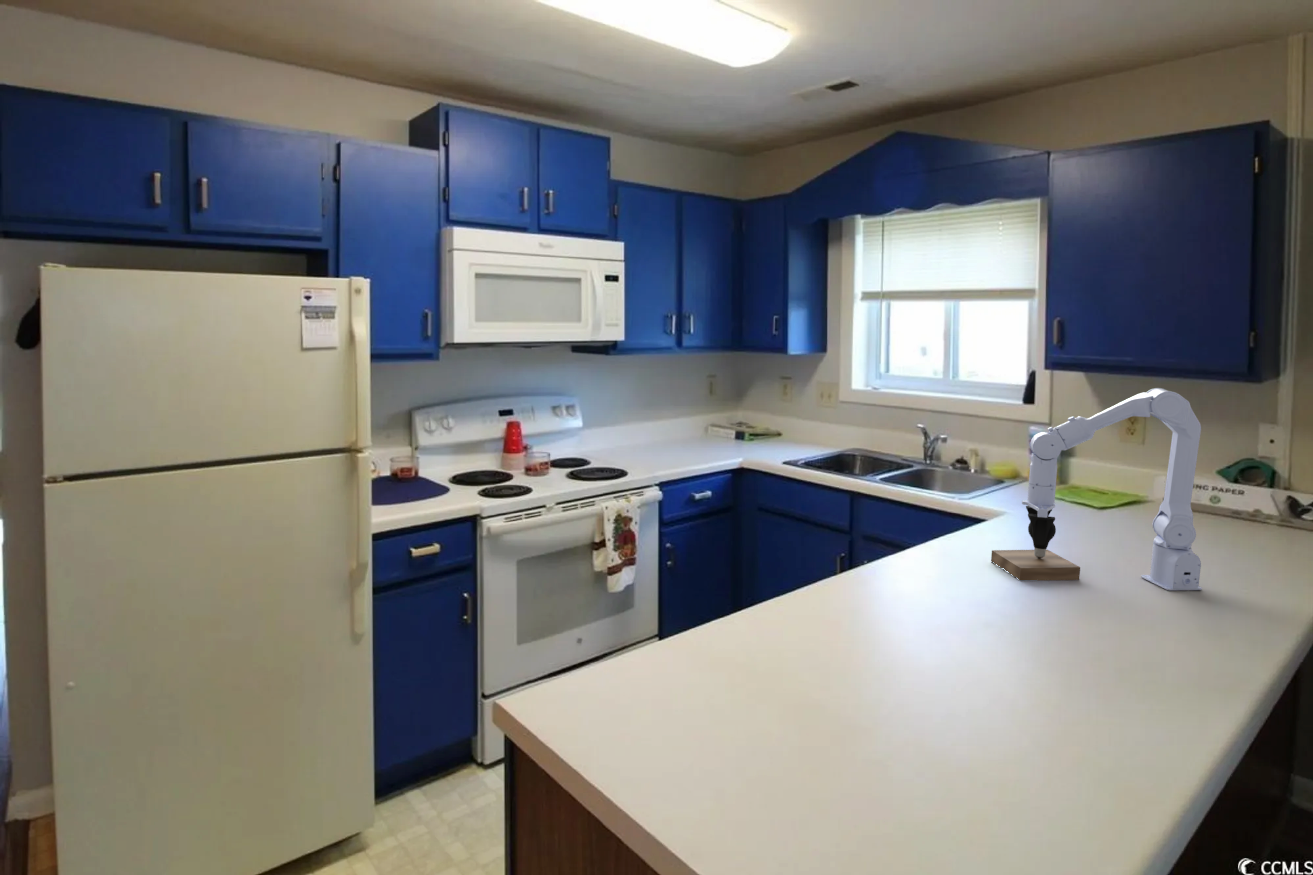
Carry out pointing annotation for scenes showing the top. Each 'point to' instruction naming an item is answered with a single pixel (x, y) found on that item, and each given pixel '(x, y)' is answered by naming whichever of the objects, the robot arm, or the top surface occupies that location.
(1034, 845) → the top surface
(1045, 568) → the walnut plinth
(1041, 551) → the light bulb
